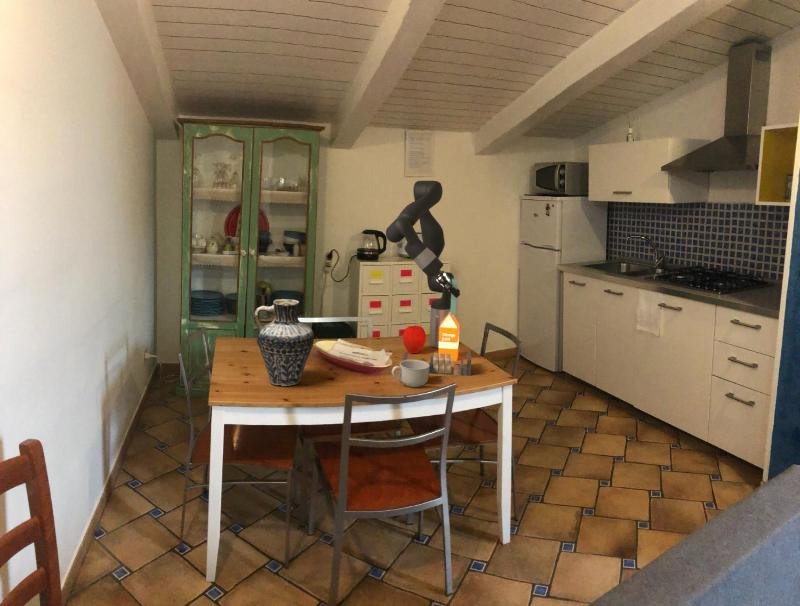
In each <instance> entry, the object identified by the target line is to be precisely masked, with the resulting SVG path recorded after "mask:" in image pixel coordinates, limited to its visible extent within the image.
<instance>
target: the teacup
mask: <svg viewBox="0 0 800 606" xmlns="http://www.w3.org/2000/svg"><path fill="white" fill-rule="evenodd" d="M429 367H430V366H429V364H428V362H426V361H424V360H419V359H408V360H404V361H402V360H401V361H400V363H399V365H395V366H393V368H392V369H391V374H392V376H393V378H396V379H398V381H399V382H401V383H403V385H404V386H406V387H409V388H420V387H423V385H425V384H426V383H428V380H429ZM397 370H399V375H397V374H396V371H397Z"/></svg>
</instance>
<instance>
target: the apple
mask: <svg viewBox="0 0 800 606" xmlns="http://www.w3.org/2000/svg"><path fill="white" fill-rule="evenodd" d="M426 340H427V335H426V331H425V329H424V328H423V327H422V326H421V325H416V324H415V325H409V326H407V327H406V328H405V329H404V331H403V334H402V341H403V345H404V348H405V349H406V352H407V353H409V354H418V353H420V352H421V351H422V349H423V348H424V346H425V345H426Z"/></svg>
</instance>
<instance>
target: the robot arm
mask: <svg viewBox="0 0 800 606" xmlns="http://www.w3.org/2000/svg"><path fill="white" fill-rule="evenodd" d="M443 190H444V189H443V186H442V183H441V182H440V181H438V180H417V181H415V183H414V184H413V191H412V193H413V198H414V201H413V202H411V203H409V204H407V205H406V206H405V207H404V208H403V210H402V211H401V212H400V213H399V215H398V216H397V217H396V218H395V219H394V220H393V222H391V224H390V225H388V227H387V228H386V230H385V237H386V239H387V240H388V241H389V242H390V243H394V244H397V243H399V242H401V241H402V240H403V239H405V241H406V244H405V247H404V252H405V253H406V254H407V255H408V257H410V258H411V259H412V260H413V261H414V263H415V264H416V265H417V267H419V269H420V270H421V271H422V272H423V273H424V274H425V275H426V279H427V285H428V288H429V290H430V291H431V292H433V293H439V294H440V293H441V297H440V298H437V299H433V300H432V301H431V302H430V320H429V321H430V322H429V347H432V348H435V349H436V348H437V349H439V328H440V325H441V323H442V321H443V320H444V319H445V318H446V316H447V315H448V314H449V312H450V310H451V293H452V294H453V295H454V297H455V298H456V299H457V298H459V296H460V297H461V290H460V289H459V288H458V287H457V290H456V289H455V288H454V286H453V285H452V278H453V279H455V276H454V274H453V273H452V272H450V271H449V272H448V271H444V270H442V268H443V267H444V262H442V261H441V260H440V256H441V255H442V253H443V251H444V248H445V245H446V244H445V241H446V240H445V235H444V229H443V227H442V226H441V224H440V222H438V220H437V219H436V218H435V217H434V216H433V214H432V213H431V211H430V209H431V208H433V207H434V206H436V205H437V204H438V203H439V202H440V201H441V199H442V197H443V193H444V192H443ZM418 221H419V224H420V231H421V232H420V233H421V238H420V237H419V236H418V234H417V232H416V230H415V228H414V226H415V225H416V223H417V222H418ZM421 239H422V240H421Z"/></svg>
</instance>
